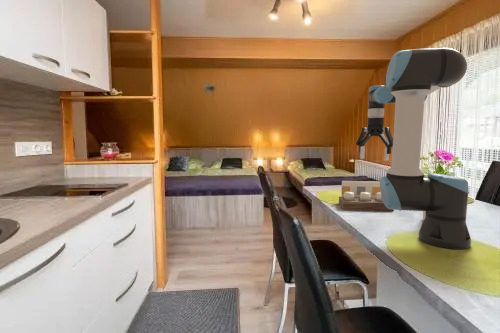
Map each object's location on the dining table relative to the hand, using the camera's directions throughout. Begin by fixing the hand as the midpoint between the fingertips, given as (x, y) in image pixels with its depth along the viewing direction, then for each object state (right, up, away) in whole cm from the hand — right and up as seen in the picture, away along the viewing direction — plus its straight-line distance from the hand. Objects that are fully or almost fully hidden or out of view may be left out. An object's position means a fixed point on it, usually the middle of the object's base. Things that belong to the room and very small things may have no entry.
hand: (374, 159), depth 147 cm
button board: (-4, -24, +1) cm, 25 cm away
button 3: (-12, -21, +2) cm, 24 cm away
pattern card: (-3, -23, +11) cm, 26 cm away
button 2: (-4, -21, +1) cm, 22 cm away
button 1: (+4, -21, 0) cm, 22 cm away
